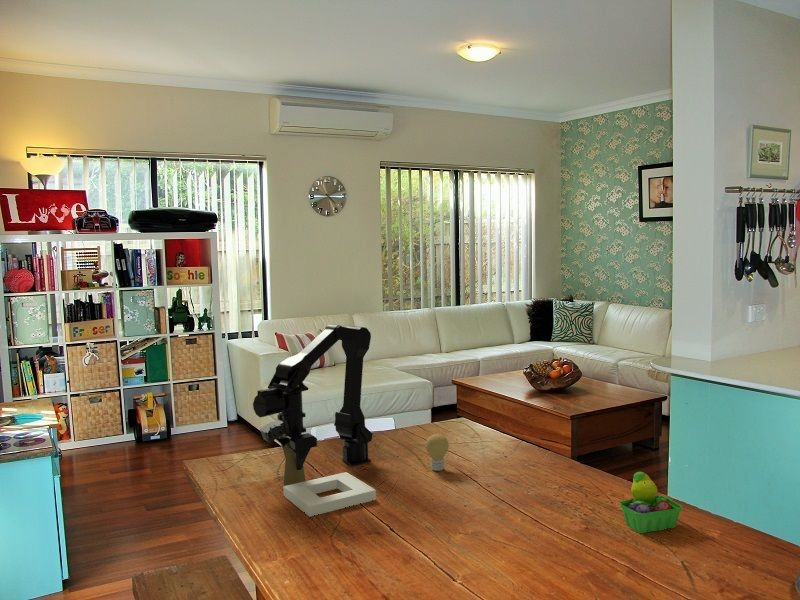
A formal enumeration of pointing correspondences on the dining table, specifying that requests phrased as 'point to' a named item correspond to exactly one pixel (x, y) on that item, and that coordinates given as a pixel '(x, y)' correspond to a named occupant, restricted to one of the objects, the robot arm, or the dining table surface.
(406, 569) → the dining table surface
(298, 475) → the olive green peg
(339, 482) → the socket board
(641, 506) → the fruit basket
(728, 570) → the dining table surface
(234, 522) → the dining table surface
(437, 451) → the light bulb
